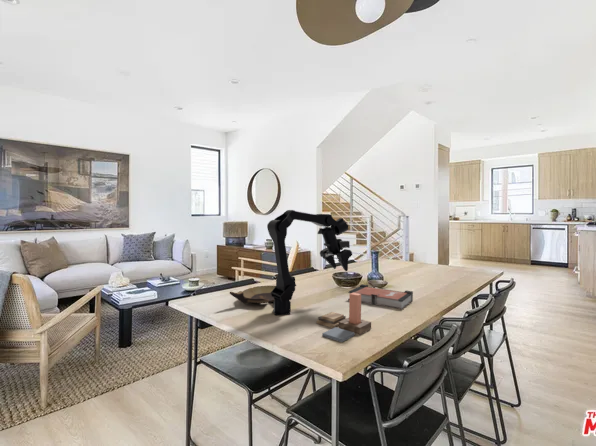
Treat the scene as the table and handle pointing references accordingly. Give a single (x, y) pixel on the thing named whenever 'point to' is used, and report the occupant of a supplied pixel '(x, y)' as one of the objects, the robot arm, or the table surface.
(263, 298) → the oil lamp
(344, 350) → the table surface
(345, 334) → the grey mat
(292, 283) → the robot arm
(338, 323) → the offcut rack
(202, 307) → the table surface
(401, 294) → the book
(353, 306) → the pink bar
